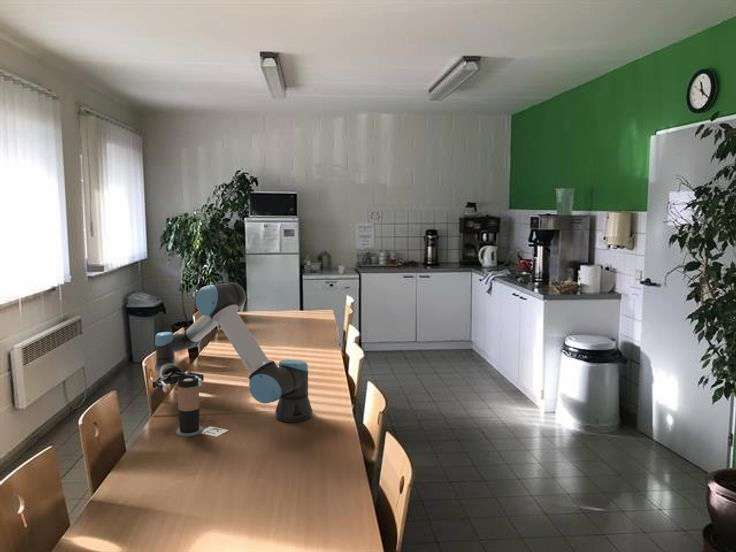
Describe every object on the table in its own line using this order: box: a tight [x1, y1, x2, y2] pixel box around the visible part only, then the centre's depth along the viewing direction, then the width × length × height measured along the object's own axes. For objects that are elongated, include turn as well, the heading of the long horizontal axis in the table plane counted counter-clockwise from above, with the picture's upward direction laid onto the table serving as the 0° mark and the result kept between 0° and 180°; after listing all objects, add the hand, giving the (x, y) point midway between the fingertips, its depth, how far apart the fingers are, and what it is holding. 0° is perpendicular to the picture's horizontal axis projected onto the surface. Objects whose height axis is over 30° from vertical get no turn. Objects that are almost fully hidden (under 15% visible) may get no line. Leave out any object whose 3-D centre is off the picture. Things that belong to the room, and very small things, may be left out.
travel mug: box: [177, 376, 200, 433], centre depth 223 cm, size 8×8×20 cm
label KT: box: [201, 425, 230, 438], centre depth 224 cm, size 9×7×1 cm
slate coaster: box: [175, 425, 205, 438], centre depth 224 cm, size 10×10×1 cm
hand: (183, 385), depth 232 cm, fingers open, 13 cm apart
